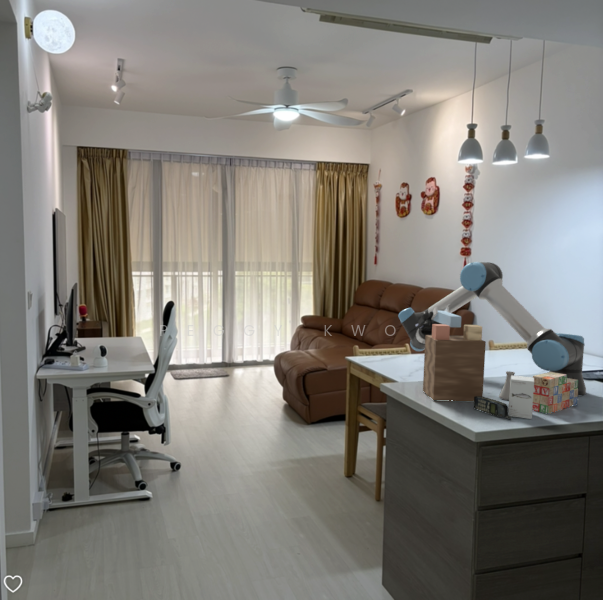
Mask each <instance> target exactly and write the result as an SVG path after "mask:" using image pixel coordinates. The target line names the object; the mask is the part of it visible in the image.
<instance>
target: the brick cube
mask: <svg viewBox="0 0 603 600" xmlns="http://www.w3.org/2000/svg"><path fill="white" fill-rule="evenodd" d="M450 330H451V327H450V326H449V325H446V324H432V338H434V339H436V340H449V335H450V336H451V333H450Z"/></svg>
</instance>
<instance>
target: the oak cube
mask: <svg viewBox="0 0 603 600" xmlns="http://www.w3.org/2000/svg"><path fill="white" fill-rule="evenodd" d="M462 336H463V338H464V339H466V340H482V338H483V337H482V336H483V326H482V325H478V324H464V325H463V335H462Z"/></svg>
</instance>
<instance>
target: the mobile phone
mask: <svg viewBox="0 0 603 600" xmlns="http://www.w3.org/2000/svg"><path fill="white" fill-rule="evenodd" d="M474 408H475V409H474ZM473 409H474V410H476V409H478V410H477V411H479V410H481V411H480V412H482V411H483V413H485V412H486V413H485V414H488V415H490V416H493V417H496V418H497V417H499V418H505V419H509V420H512V419H513V418H512V417H513V416H508V409H509V405H507V404H506V403H504V402H502V401H499V400H496V399H494V398H489V397H486V396H483V397H482V396H475V397H474V402H473Z"/></svg>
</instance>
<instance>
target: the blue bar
mask: <svg viewBox="0 0 603 600" xmlns="http://www.w3.org/2000/svg"><path fill="white" fill-rule="evenodd" d="M433 320H434V321H436V322H439V323H441V324H446V325H449V326H450V328H461V327H462V316H461V315H458V314H455V313H453V312H452V313H449V312H446V311H438V314H437V315H436V316H435V318H434V319H433Z"/></svg>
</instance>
